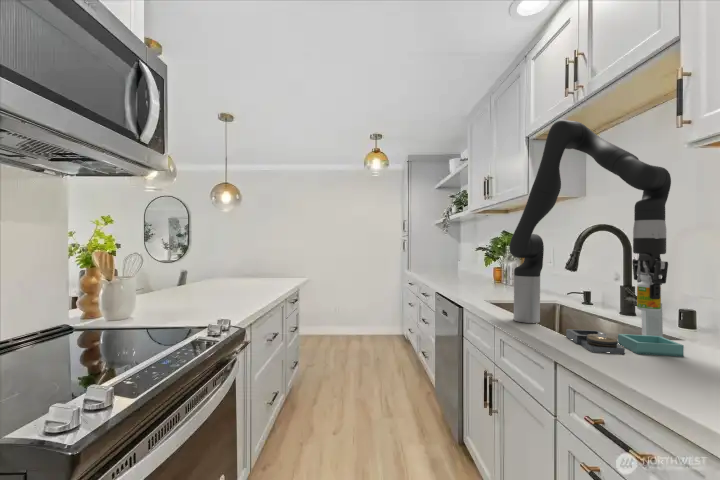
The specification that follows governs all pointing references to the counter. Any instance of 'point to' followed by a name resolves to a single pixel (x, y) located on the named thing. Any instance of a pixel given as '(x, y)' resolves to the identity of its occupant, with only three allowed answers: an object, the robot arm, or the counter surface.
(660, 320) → the skincare box
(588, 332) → the bracket
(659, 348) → the tray
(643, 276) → the supplement bottle
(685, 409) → the counter surface
